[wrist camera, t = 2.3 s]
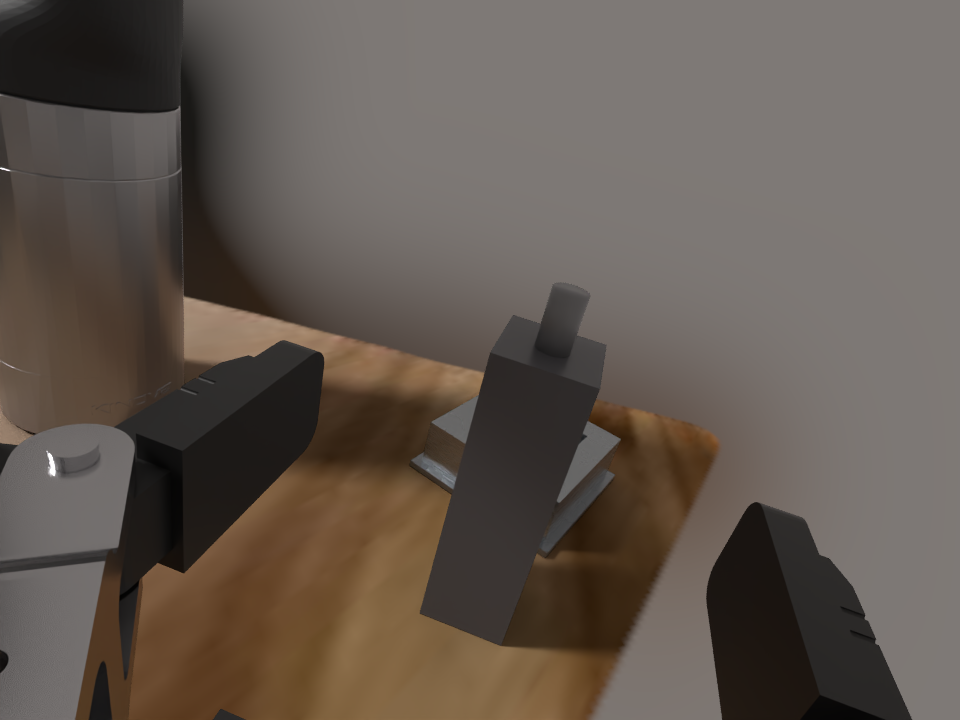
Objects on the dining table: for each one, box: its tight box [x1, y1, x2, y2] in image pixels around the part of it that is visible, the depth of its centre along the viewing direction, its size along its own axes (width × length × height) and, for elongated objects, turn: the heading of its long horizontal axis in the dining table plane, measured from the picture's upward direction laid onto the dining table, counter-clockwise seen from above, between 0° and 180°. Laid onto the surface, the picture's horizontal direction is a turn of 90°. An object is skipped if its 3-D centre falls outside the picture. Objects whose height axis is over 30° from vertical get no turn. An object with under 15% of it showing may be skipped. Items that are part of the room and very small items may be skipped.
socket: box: [410, 395, 621, 558], centre depth 36 cm, size 10×10×3 cm
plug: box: [420, 283, 606, 646], centre depth 24 cm, size 4×4×16 cm
